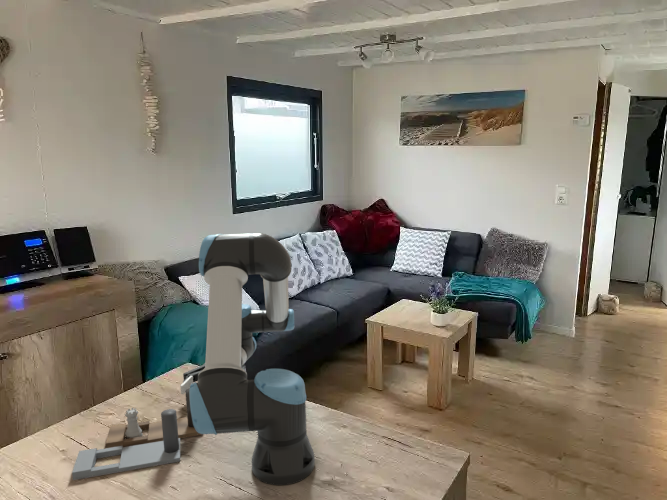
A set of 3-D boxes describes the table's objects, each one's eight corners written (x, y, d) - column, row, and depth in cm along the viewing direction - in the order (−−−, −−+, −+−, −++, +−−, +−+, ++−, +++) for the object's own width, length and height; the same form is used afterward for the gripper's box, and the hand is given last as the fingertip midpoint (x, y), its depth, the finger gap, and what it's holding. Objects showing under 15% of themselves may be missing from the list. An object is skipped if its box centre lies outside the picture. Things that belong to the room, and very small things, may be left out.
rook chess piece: (145, 433, 138) (143, 406, 136) (138, 442, 133) (135, 414, 132) (129, 432, 138) (127, 405, 136) (121, 442, 134) (119, 414, 132)
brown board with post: (203, 434, 136) (200, 396, 134) (106, 450, 130) (101, 411, 127) (201, 417, 145) (199, 382, 143) (111, 432, 138) (106, 394, 136)
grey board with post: (180, 461, 125) (176, 420, 123) (72, 480, 118) (67, 437, 116) (180, 441, 133) (177, 402, 131) (80, 458, 127) (75, 417, 124)
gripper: (268, 374, 164) (246, 407, 144) (196, 369, 169) (164, 400, 148) (267, 352, 163) (244, 382, 142) (195, 348, 167) (162, 376, 147)
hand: (203, 391), depth 145 cm, fingers open, 13 cm apart
